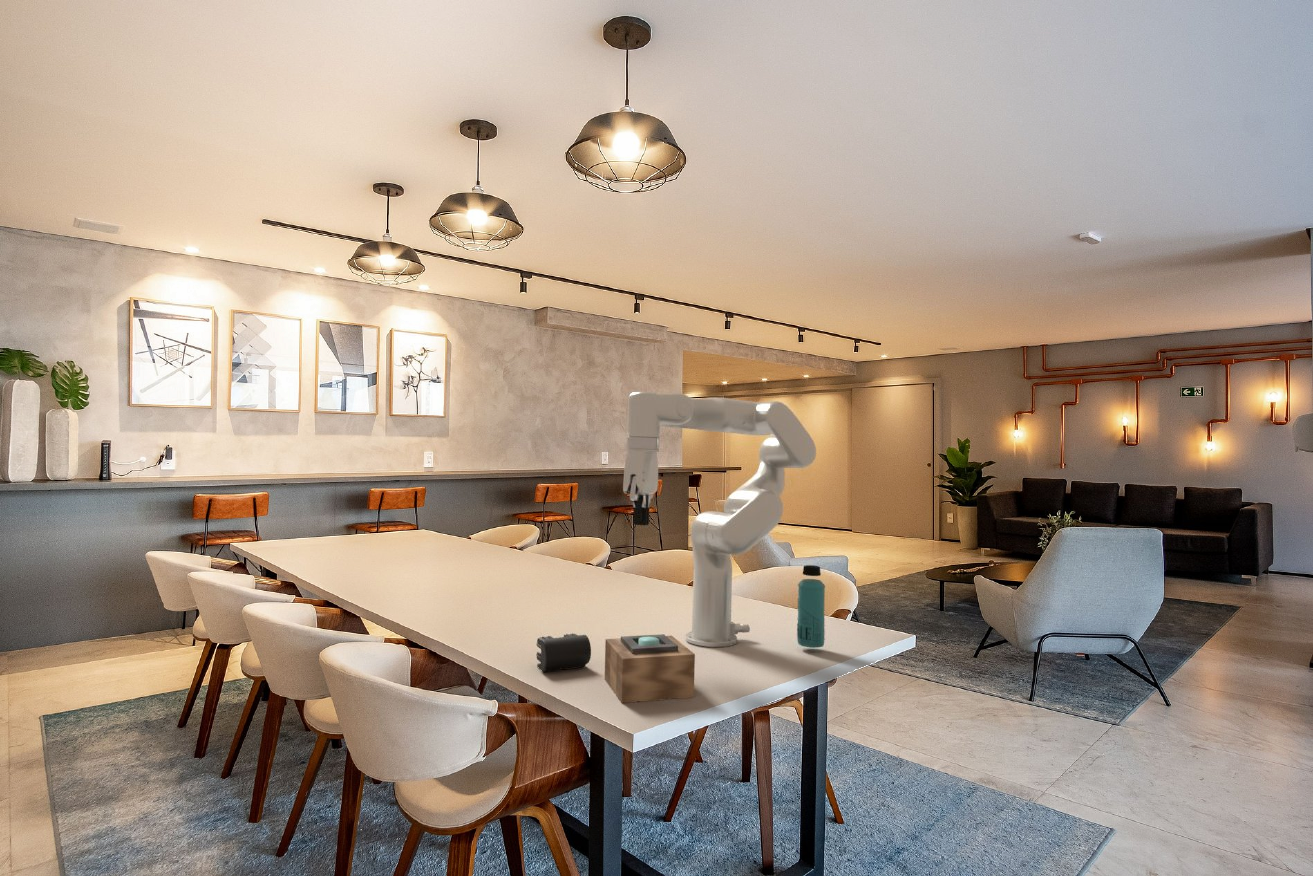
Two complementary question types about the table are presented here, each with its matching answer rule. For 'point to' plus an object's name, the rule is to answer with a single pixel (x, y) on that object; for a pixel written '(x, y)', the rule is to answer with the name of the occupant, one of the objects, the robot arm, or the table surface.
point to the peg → (648, 641)
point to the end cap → (563, 652)
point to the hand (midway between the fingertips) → (641, 524)
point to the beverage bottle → (811, 609)
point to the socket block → (649, 669)
